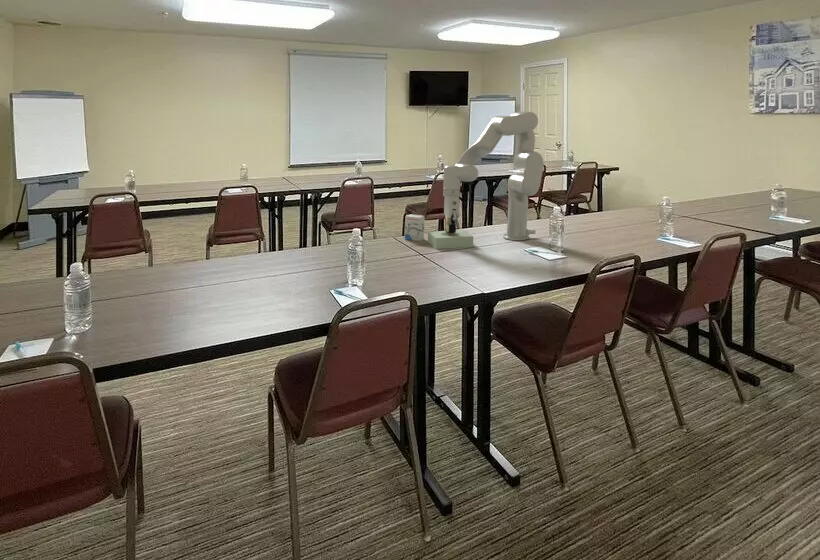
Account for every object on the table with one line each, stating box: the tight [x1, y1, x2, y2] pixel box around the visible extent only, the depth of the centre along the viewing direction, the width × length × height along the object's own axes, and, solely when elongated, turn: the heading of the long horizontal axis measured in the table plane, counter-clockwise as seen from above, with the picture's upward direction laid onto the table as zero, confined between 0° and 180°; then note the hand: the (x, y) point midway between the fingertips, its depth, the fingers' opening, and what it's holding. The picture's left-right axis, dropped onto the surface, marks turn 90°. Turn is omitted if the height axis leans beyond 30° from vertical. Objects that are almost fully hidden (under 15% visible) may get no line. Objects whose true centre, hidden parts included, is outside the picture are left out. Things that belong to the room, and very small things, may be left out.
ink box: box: [404, 213, 426, 242], centre depth 267 cm, size 9×5×12 cm, turn 62°
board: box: [427, 229, 474, 250], centre depth 258 cm, size 18×14×5 cm
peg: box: [444, 215, 454, 235], centre depth 256 cm, size 5×5×12 cm
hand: (450, 231), depth 257 cm, fingers closed on peg, 4 cm apart
